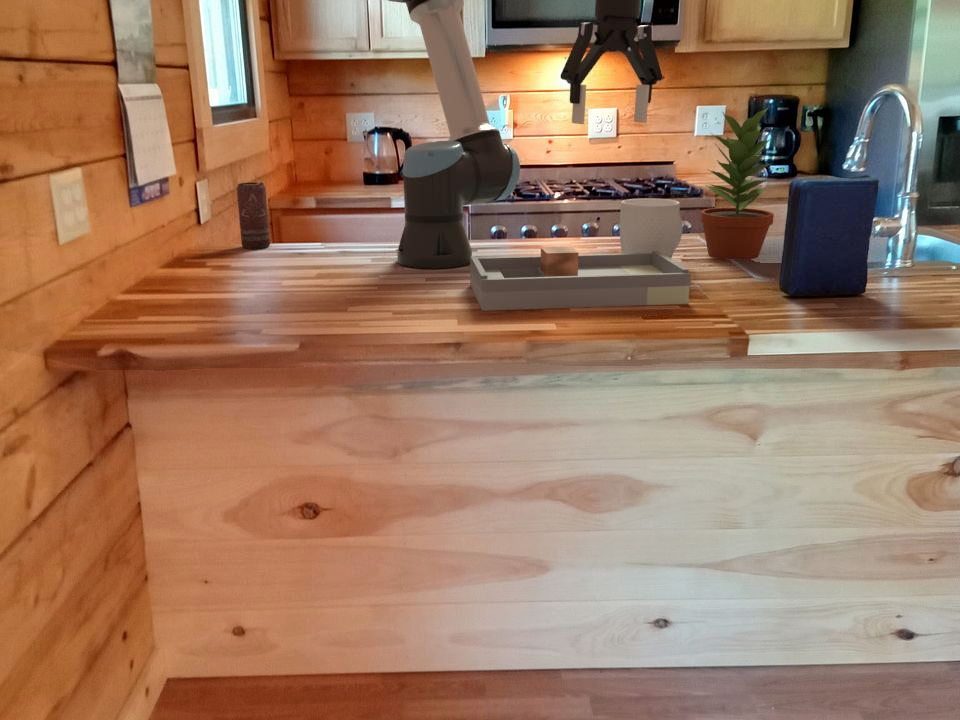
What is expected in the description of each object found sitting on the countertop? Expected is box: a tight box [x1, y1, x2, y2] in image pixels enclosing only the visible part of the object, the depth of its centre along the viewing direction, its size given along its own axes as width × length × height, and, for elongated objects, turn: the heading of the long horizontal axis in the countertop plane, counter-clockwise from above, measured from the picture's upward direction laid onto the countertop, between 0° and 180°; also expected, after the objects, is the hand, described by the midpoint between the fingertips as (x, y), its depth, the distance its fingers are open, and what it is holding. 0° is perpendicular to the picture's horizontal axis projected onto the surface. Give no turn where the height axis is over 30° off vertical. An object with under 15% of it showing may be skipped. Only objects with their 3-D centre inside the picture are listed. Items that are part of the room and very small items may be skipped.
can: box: [236, 181, 271, 250], centre depth 187 cm, size 6×6×14 cm
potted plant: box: [699, 105, 775, 261], centre depth 173 cm, size 15×15×30 cm
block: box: [540, 246, 580, 276], centre depth 148 cm, size 6×6×4 cm
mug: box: [619, 197, 683, 259], centre depth 163 cm, size 15×11×13 cm
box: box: [469, 251, 692, 312], centre depth 145 cm, size 34×18×6 cm, turn 97°
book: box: [778, 174, 880, 297], centre depth 141 cm, size 14×5×20 cm, turn 97°
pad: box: [620, 265, 691, 306], centre depth 147 cm, size 7×18×3 cm, turn 7°
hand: (609, 123), depth 151 cm, fingers open, 13 cm apart
